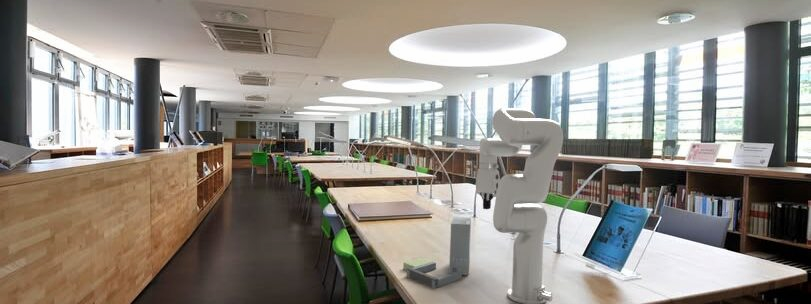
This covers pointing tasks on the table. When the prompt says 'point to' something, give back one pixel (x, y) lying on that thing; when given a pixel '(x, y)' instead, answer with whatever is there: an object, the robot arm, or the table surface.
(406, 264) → the light green block
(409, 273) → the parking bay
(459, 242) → the hard drive box
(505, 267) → the table surface
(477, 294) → the table surface
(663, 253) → the table surface
